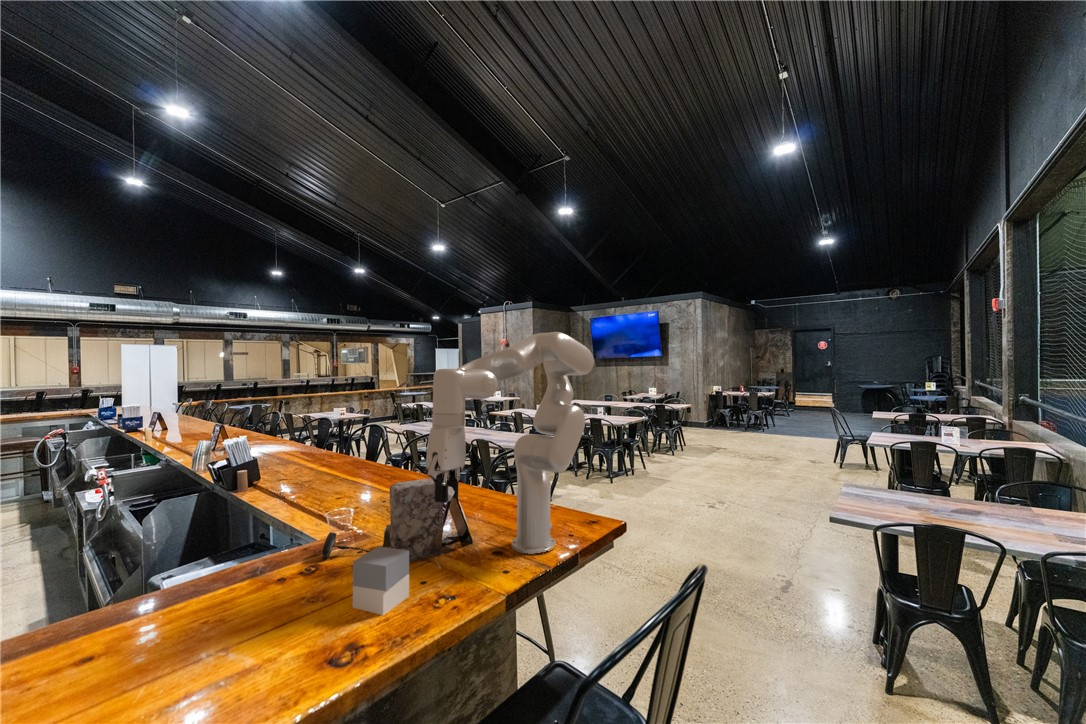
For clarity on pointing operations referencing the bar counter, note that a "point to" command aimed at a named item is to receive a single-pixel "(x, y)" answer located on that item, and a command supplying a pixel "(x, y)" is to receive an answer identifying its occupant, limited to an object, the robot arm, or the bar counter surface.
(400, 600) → the lower block
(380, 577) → the upper block
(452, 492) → the game die
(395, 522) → the stone block
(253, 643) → the bar counter surface
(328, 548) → the artificial flower
